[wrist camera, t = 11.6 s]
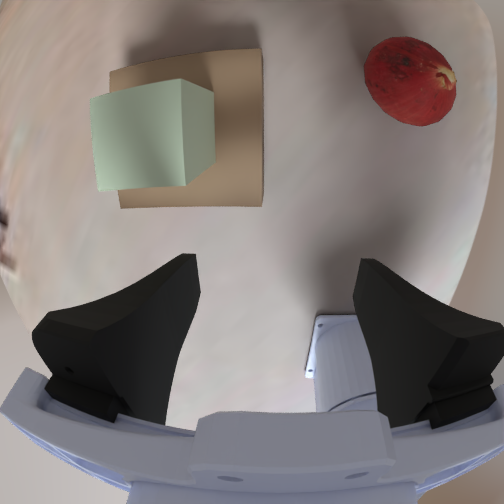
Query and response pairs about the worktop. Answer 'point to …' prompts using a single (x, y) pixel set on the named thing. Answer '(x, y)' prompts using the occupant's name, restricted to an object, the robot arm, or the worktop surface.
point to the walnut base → (226, 127)
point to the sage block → (152, 135)
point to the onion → (410, 80)
